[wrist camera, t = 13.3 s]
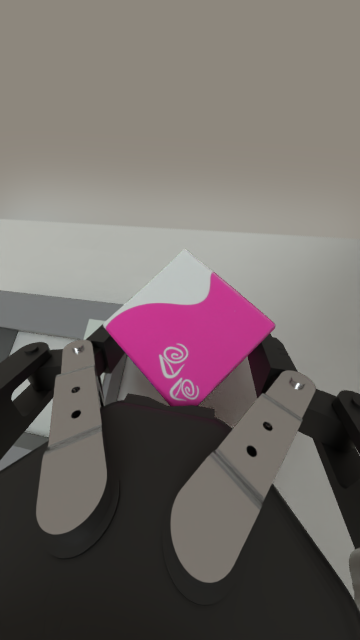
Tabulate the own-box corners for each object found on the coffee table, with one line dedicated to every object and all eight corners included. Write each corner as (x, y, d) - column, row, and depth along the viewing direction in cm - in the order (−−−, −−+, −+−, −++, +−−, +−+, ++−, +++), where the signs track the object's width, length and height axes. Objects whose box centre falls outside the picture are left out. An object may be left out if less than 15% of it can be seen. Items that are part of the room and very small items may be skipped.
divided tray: (136, 312, 20) (126, 304, 18) (93, 501, 16) (72, 528, 13) (16, 298, 23) (-9, 288, 20) (-51, 461, 18) (-95, 478, 15)
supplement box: (154, 348, 19) (96, 321, 8) (193, 311, 20) (188, 240, 9) (192, 390, 18) (182, 425, 7) (232, 348, 18) (285, 319, 7)
